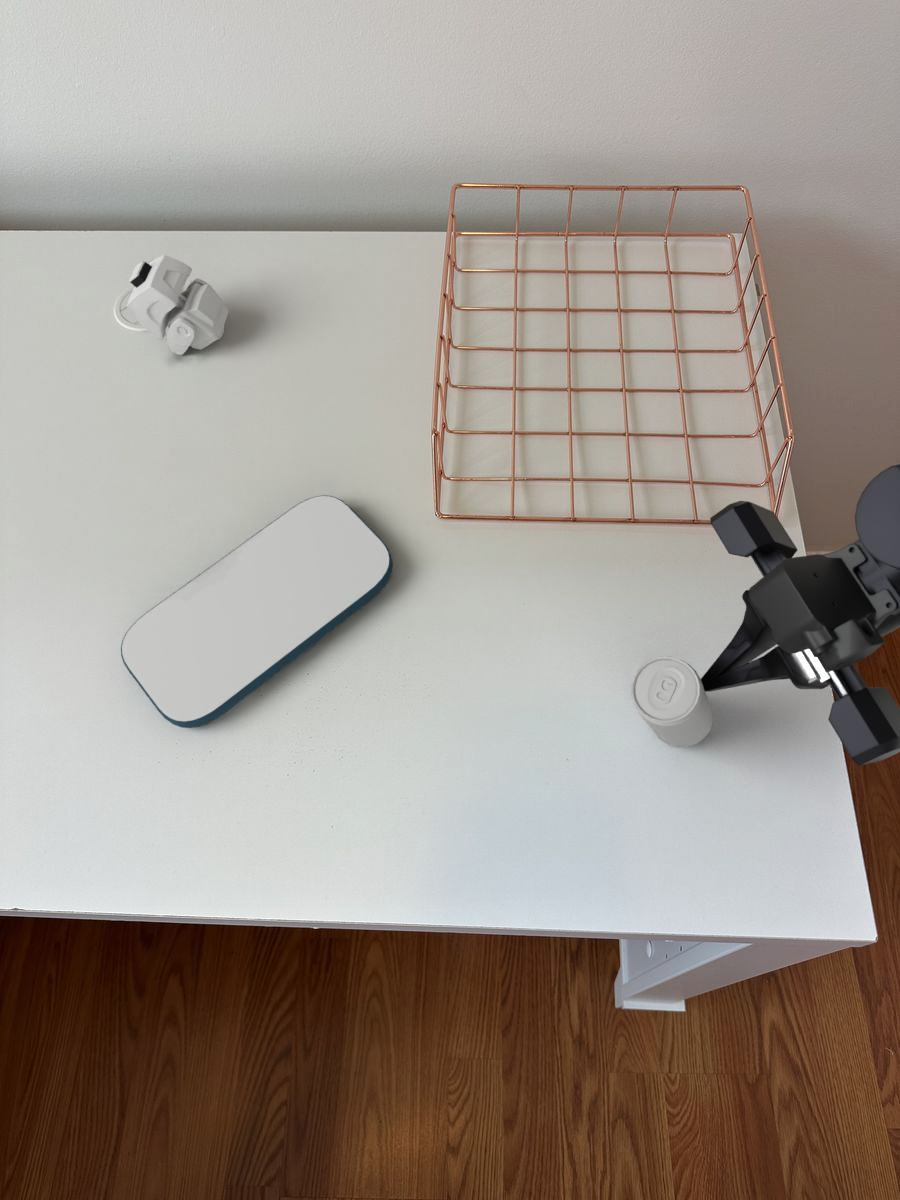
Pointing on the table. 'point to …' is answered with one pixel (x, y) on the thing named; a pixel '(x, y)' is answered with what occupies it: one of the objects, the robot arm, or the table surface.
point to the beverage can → (672, 701)
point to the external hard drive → (255, 610)
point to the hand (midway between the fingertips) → (703, 687)
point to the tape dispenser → (176, 305)
